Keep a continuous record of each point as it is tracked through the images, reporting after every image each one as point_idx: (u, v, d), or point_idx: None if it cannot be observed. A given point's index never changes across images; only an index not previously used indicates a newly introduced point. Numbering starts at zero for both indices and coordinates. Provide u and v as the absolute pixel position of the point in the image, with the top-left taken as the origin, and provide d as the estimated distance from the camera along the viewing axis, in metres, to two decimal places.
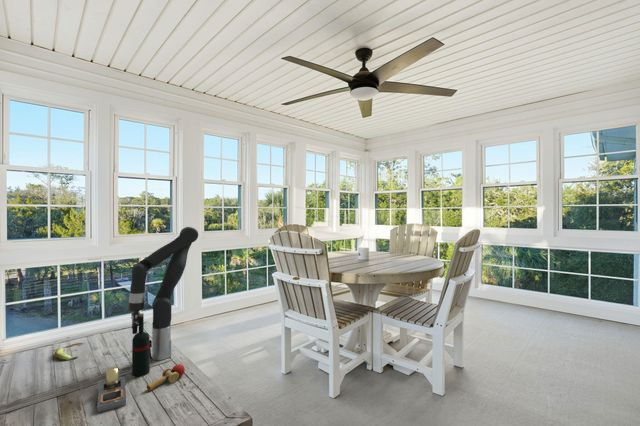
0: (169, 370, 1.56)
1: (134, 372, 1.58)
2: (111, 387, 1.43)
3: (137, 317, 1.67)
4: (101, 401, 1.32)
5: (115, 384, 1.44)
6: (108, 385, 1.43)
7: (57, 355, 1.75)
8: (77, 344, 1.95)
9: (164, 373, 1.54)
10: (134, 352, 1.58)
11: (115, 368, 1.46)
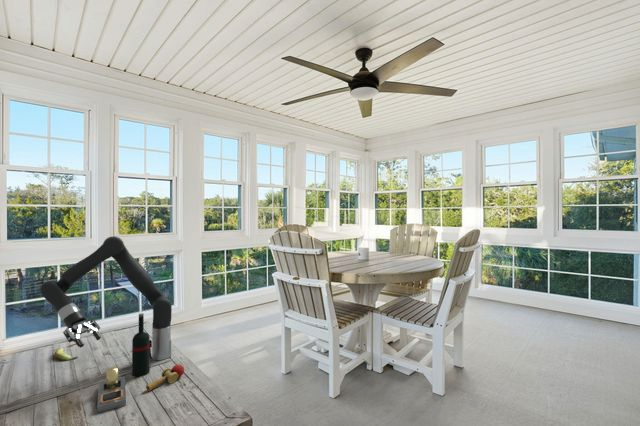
0: (168, 370, 1.55)
1: (134, 372, 1.58)
2: (111, 387, 1.43)
3: (66, 331, 1.42)
4: (101, 401, 1.32)
5: (115, 384, 1.44)
6: (108, 385, 1.43)
7: (57, 355, 1.75)
8: None
9: (163, 373, 1.54)
10: (134, 352, 1.58)
11: (115, 368, 1.46)
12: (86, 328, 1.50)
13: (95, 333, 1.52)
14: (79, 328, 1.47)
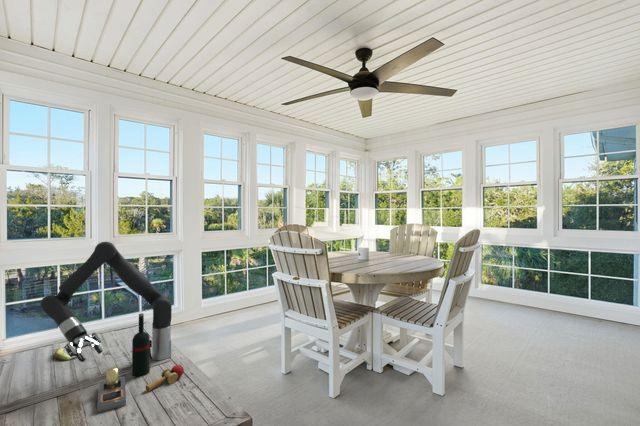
0: (168, 371, 1.55)
1: (134, 372, 1.58)
2: (111, 387, 1.43)
3: (67, 346, 1.42)
4: (101, 401, 1.32)
5: (115, 384, 1.44)
6: (108, 385, 1.43)
7: (57, 355, 1.75)
8: None
9: (163, 374, 1.53)
10: (134, 352, 1.58)
11: (115, 368, 1.46)
12: (87, 342, 1.50)
13: (96, 347, 1.52)
14: (80, 342, 1.46)
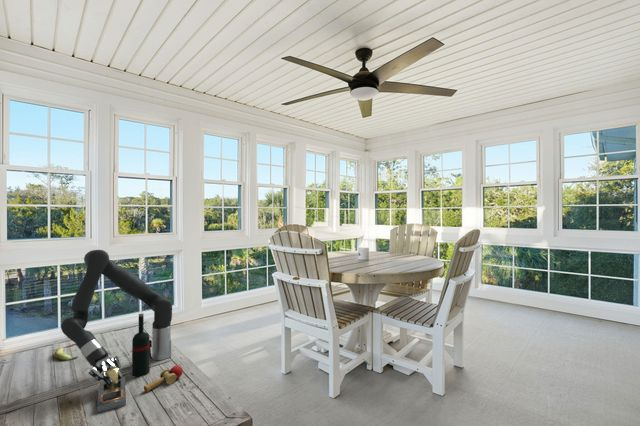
0: (167, 371, 1.54)
1: (134, 372, 1.58)
2: (111, 387, 1.43)
3: (92, 372, 1.40)
4: (101, 401, 1.32)
5: (115, 384, 1.44)
6: (108, 385, 1.43)
7: (57, 355, 1.75)
8: None
9: (162, 374, 1.53)
10: (134, 352, 1.58)
11: (115, 368, 1.46)
12: (108, 365, 1.46)
13: None
14: (103, 365, 1.44)
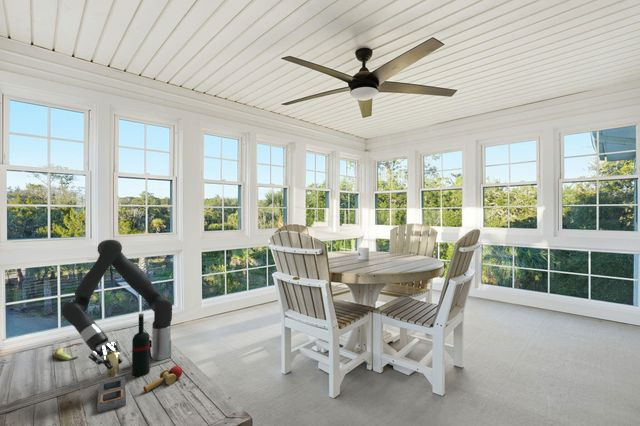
0: (166, 371, 1.54)
1: (134, 372, 1.58)
2: (112, 371, 1.43)
3: (92, 356, 1.40)
4: (101, 401, 1.32)
5: (115, 368, 1.44)
6: (108, 369, 1.43)
7: (57, 355, 1.75)
8: (77, 344, 1.95)
9: (161, 374, 1.53)
10: (134, 352, 1.58)
11: (115, 352, 1.46)
12: (108, 349, 1.46)
13: None
14: (104, 350, 1.44)
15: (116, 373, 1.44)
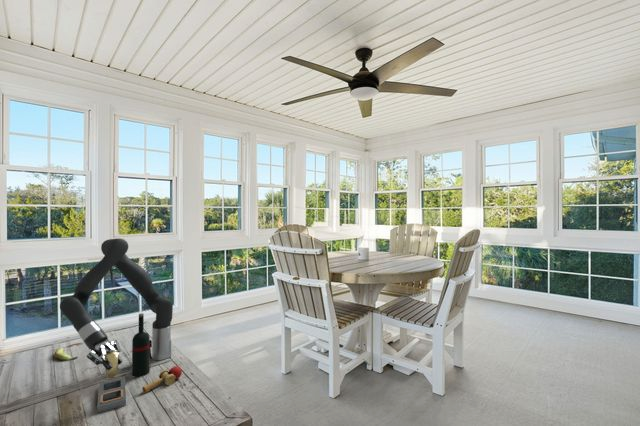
0: (166, 372, 1.54)
1: (134, 372, 1.58)
2: (111, 372, 1.35)
3: (90, 355, 1.31)
4: (101, 401, 1.32)
5: (115, 369, 1.36)
6: (107, 370, 1.34)
7: (57, 355, 1.75)
8: (77, 344, 1.95)
9: (161, 375, 1.52)
10: (134, 352, 1.58)
11: (115, 352, 1.37)
12: (107, 349, 1.38)
13: None
14: (103, 349, 1.36)
15: (115, 374, 1.36)
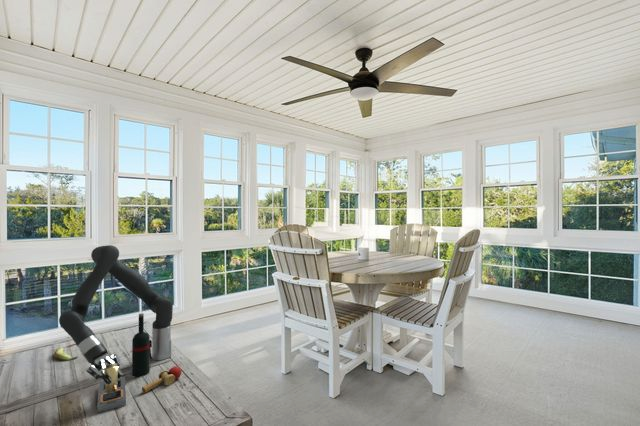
0: (165, 372, 1.54)
1: (134, 372, 1.58)
2: (110, 386, 1.35)
3: (90, 370, 1.31)
4: (101, 401, 1.32)
5: (115, 383, 1.36)
6: (107, 384, 1.34)
7: (57, 355, 1.75)
8: None
9: (160, 375, 1.52)
10: (134, 352, 1.58)
11: (114, 366, 1.37)
12: (107, 363, 1.38)
13: None
14: (102, 363, 1.36)
15: (115, 388, 1.36)
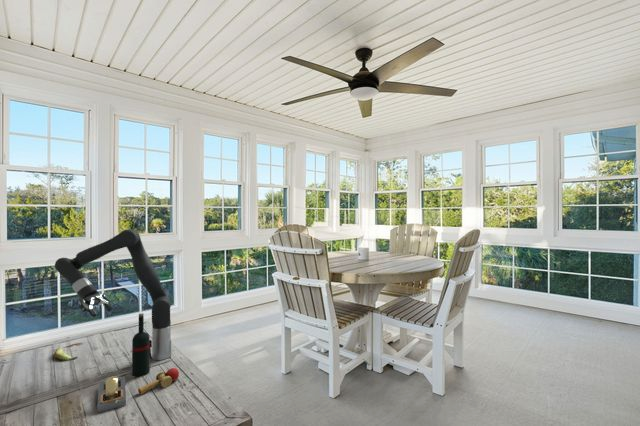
0: (163, 374, 1.52)
1: (134, 372, 1.58)
2: (110, 398, 1.35)
3: (80, 302, 1.54)
4: (101, 401, 1.32)
5: (115, 395, 1.36)
6: (107, 396, 1.35)
7: (57, 355, 1.75)
8: (76, 344, 1.95)
9: (157, 376, 1.51)
10: (134, 352, 1.58)
11: (114, 378, 1.37)
12: (98, 300, 1.62)
13: (106, 305, 1.64)
14: (92, 300, 1.59)
15: None
